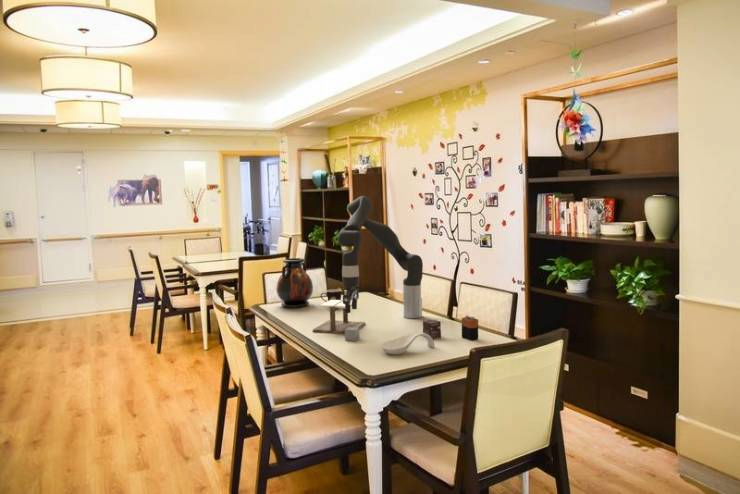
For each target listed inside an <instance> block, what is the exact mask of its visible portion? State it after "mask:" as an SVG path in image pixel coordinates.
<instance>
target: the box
mask: <svg viewBox="0 0 740 494" xmlns="http://www.w3.org/2000/svg"><path fill="white" fill-rule="evenodd" d="M441 323H442V322H441V321H440V320H436V319H426V320H422V332H423V333H425V334H427V335H429V336H430V337H431V338H432V339H439V338H440V339H441V337H442V331H441V326H442V325H441ZM423 337H424V338H426V337H425V336H423Z"/></svg>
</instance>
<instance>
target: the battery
mask: <svg viewBox="0 0 740 494" xmlns="http://www.w3.org/2000/svg"><path fill="white" fill-rule="evenodd" d="M461 339H465V340H468V341H472V342H473V341H477V340H478V339H479V319H478V318H475V316H469V315H465V316H464V317H462V318H461Z"/></svg>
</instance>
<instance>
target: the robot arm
mask: <svg viewBox="0 0 740 494" xmlns="http://www.w3.org/2000/svg"><path fill="white" fill-rule="evenodd" d="M373 208H374V207H373V203H372V201H371V200H370V198H369V197H367V196H366V195H361V196H358V197H357V198H356V199H354V200H352V201H351V202H350V203H348V204H347V210H348V213H349V214H350V218H349V219H348V221H347V223H346V225H345V227H343V228H342V229H341V230H340V231H339V233H338V235H337V243H338V244H339V245H340V246H341V247H352V250H350V251H344V252H342V255H341V256H342V259H341V260H342V262H341V263H342V268H341V280H342V281H341V283H342V284H341V285H342V286H343V287H344V288H345V290H342V300H343V304H345V312H346V313H348V314H350V313H351V311H352V310H357V309H358V299H359V298H360V293H359V285H360V270H359V269H360V268H359V251H360V246H361V244H362V239H363V236H362V233H361V230H362V229H363V228H365V229H366V230H367V232H369V233H370V235H372V236H373V238H375V240H376V241H377V242H378V243H379V244H380V246H382V247H383V248H384V249H385V250H386V251H387V252H388V253H389V254H390V255H391V256H392V257H393V258H394V260H395V261H396V262H397V263H398V265H399V266H400V267H401V269H403V271H406V272H407V276H406V277H405V278H403V280H402V282H403V283H402V284H403V285H402V287H403V288H402V291H403V318H405V319H421V317H422V316H423V298H422V281H423V271H424V269H423V268H424V267H423V266H424V263H423V260H422V259H423V258H422V257H421V256H420V255H419V254H413V253H412V254H411V253H410V252H408V251H407V250H406V249H405V248H404V246H403V247H402V245H401V243H400V239H399V237H398V235H397V233H395V232H394V230H392V228H391V227H390V226H388V225H387V224H385V223H382V222H378V221H375V220H372V219H371V218H369V215H370V214H371V212H372V211H373ZM351 301H352V306H351V307H350V303H351ZM351 309H352V310H351Z"/></svg>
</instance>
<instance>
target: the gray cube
mask: <svg viewBox="0 0 740 494" xmlns="http://www.w3.org/2000/svg"><path fill="white" fill-rule="evenodd" d="M344 337H345V338H344V341H348V342H349V341H350V342H352V341H353V342H357V340H359V339H360V329H359V328H358V327H348V328H347V329H345V334H344Z"/></svg>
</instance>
